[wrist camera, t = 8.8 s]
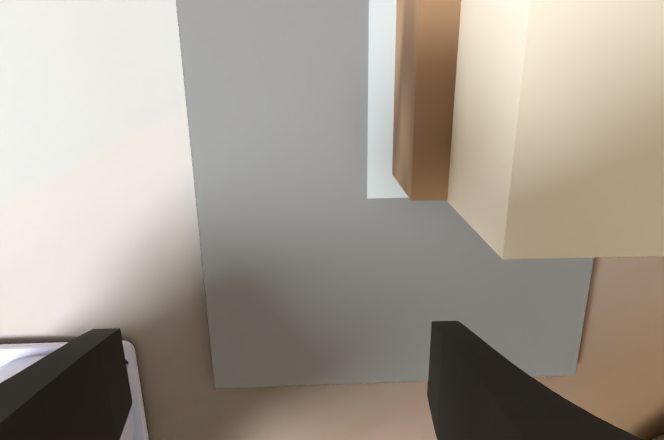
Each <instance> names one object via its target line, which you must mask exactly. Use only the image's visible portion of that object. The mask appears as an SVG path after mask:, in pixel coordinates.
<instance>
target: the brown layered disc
mask: <svg viewBox="0 0 664 440" xmlns="http://www.w3.org/2000/svg"><path fill="white" fill-rule="evenodd" d="M650 440H664V434H663V435H659V436H657V437H655V438H652V439H650Z"/></svg>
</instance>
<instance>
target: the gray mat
mask: <svg viewBox="0 0 664 440" xmlns="http://www.w3.org/2000/svg"><path fill="white" fill-rule="evenodd" d="M396 2H397V0H176V6H177V16H178V26H179V36H180V46H181V56H182V66H183V76H184V86H185V96H186V106H187V116H188V126H189V136H190V146H191V156H192V166H193V176H194V186H195V196H196V206H197V216H198V226H199V236H200V246H201V256H202V266H203V276H204V286H205V296H206V306H207V316H208V326H209V336H210V346H211V356H212V366H213V376H214V386H215V389H223V388H251V387H278V386H306V385H333V384H361V383H388V382H416V381H428V375H429V358H430V341H431V324H432V321H459V322H460V323H462V324H463V325H464V326H466V327H467V328H468V329H470V330H471V331H472V332H473V333H475V334H476V335H477V336H478V337H480V338H481V339H482V340H483V341H485V342H486V343H487V344H488V345H490V346H491V347H492V348H493V349H495V350H496V351H497V352H499V353H500V354H501V355H502V356H504V357H505V358H506V359H508V360H509V361H510V362H512V363H513V364H514V365H516V366H517V367H518V368H520V369H521V370H523V371H524V372H525V373H527V374H528V375H529V376H531V377H553V376H575V373H576V367H577V360H578V354H579V348H580V342H581V335H582V329H583V323H584V317H585V310H586V304H587V298H588V292H589V285H590V279H591V273H592V267H593V260H594V258H545V259H502V258H501V257H500V256H499V255H498V254H497V253H496V252H495V251H494V250H493V249H492V248H491V247H490V246H489V245H488V244H487V243H486V242H485V241H484V240H483V239H482V237H481V236H480V235H479V234H478V233H477V232H476V231H475V230H474V229H473V228H472V227H471V226H470V225H469V224H468V223H467V222H466V221H465V220H464V219H463V218H462V217H461V215H460V214H459V213H458V212H457V211H456V210H455V209H454V208H453V207H452V206H451V205H450V204H449V203H448V202H447V200H431V201H411V200H410V199H409V197H408V196H407V194H406V193H405V192H404V190H403V189H402V187H401V186H400V185H399V183H398V182H397V180H396V179H395V177H394V176H393V175H392V162H393V122H394V82H395V42H396Z"/></svg>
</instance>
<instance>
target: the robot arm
mask: <svg viewBox="0 0 664 440" xmlns="http://www.w3.org/2000/svg"><path fill="white" fill-rule="evenodd" d="M126 360H127V361H128V364H126ZM427 396H428V401H429V405H430V410H431V415H432V420H433V424H434V428H435V433H436V436H437V439H438V440H643V439H641V438H638V437H636V436H634V435H632V434H630V433H628V432H626V431H624V430H622V429H619V428H617V427H615V426H613V425H611V424H609V423H608V422H606V421H604V420H602V419H600V418H598V417H596V416H594V415H592V414H591V413H589V412H587V411H585V410H584V409H582V408H580V407H578V406H577V405H575V404H573V403H571V402H570V401H568V400H566V399H565V398H563V397H561V396H560V395H558V394H556V393H555V392H553V391H552V390H550V389H549V388H547V387H546V386H544V385H543V384H541V383H540V382H538V381H537V380H535V379H534V378H532V377H531V376H529V375H528V374H527V373H525V372H524V371H523V370H521V369H520V368H518V367H517V366H516V365H514V364H513V363H512V362H510V361H509V360H508V359H506V358H505V357H504V356H502V355H501V354H500V353H499V352H497V351H496V350H495V349H493V348H492V347H491V346H490V345H488V344H487V343H486V342H485V341H483V340H482V339H481V338H480V337H478V336H477V335H476V334H475V333H473V332H472V331H471V330H470V329H468V328H467V327H466V326H464V325H463V324H462V323H460V322H459V321H432V324H431V341H430V358H429V375H428V392H427ZM0 440H149V438H148V431H147V425H146V418H145V412H144V405H143V399H142V392H141V386H140V379H139V373H138V366H137V360H136V353H135V348H134V346H133V345H132V344H131V343H130V342H128V341H124V340H122V337H121V331H120V329H93V330H91V331H89V332H86V333H84V334H83V335H81V336H79V337H77V338H75V339H74V340H72V341H70V342H55V343H25V344H0Z"/></svg>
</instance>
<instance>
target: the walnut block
mask: <svg viewBox="0 0 664 440" xmlns="http://www.w3.org/2000/svg"><path fill="white" fill-rule="evenodd" d="M460 11H461V0H397V2H396V42H395V82H394V122H393V162H392V175H393V176H394V177H395V179H396V180H397V182H398V183H399V185H400V186H401V187H402V189H403V190H404V192H405V193H406V194H407V196H408V197H409V199H410V200H411V201H431V200H447V198H448V183H449V169H450V155H451V140H452V126H453V112H454V97H455V83H456V68H457V54H458V40H459V25H460Z"/></svg>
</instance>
